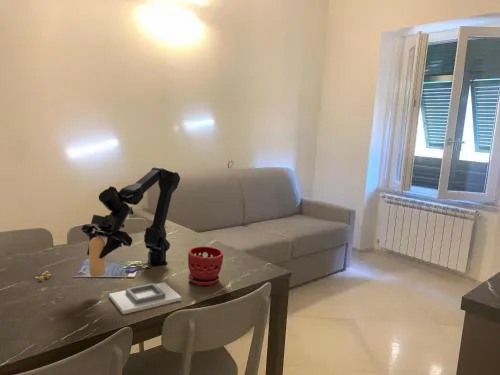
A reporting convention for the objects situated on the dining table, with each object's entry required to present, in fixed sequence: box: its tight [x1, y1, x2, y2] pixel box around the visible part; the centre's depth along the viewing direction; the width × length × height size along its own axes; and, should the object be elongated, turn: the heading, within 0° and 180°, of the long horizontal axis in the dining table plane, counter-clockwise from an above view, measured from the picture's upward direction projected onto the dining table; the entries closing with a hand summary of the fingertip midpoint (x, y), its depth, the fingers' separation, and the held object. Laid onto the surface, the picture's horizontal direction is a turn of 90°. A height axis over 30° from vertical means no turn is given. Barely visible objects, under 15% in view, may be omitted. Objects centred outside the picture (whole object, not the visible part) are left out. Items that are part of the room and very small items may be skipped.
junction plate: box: [108, 282, 182, 315], centre depth 139 cm, size 20×14×3 cm
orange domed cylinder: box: [88, 236, 106, 278], centre depth 139 cm, size 5×5×13 cm
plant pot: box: [187, 246, 224, 287], centre depth 155 cm, size 13×13×12 cm
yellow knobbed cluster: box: [35, 270, 52, 282], centre depth 151 cm, size 5×5×2 cm
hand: (94, 256), depth 138 cm, fingers closed on orange domed cylinder, 5 cm apart
